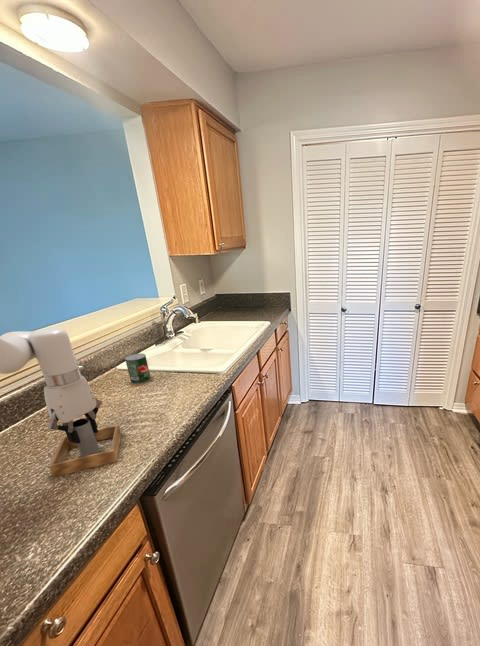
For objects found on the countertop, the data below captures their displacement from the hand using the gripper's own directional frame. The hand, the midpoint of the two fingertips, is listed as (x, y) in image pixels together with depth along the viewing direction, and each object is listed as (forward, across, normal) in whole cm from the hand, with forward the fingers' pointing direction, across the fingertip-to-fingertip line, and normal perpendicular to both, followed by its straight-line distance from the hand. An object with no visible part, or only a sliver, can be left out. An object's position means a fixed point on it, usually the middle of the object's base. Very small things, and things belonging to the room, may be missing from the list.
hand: (84, 436), depth 89 cm
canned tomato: (+6, -44, -27) cm, 52 cm away
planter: (+6, 0, 0) cm, 6 cm away
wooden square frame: (+6, 0, 0) cm, 6 cm away
